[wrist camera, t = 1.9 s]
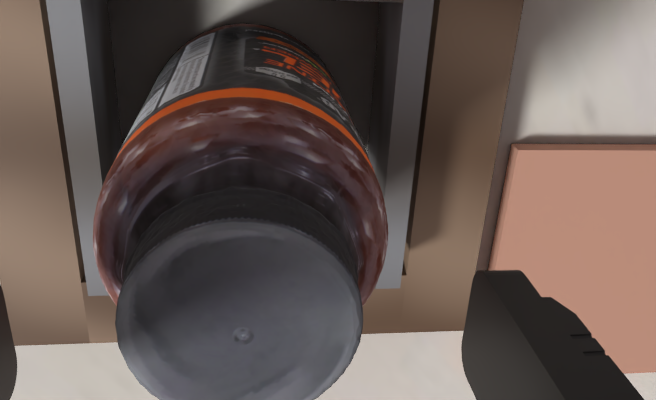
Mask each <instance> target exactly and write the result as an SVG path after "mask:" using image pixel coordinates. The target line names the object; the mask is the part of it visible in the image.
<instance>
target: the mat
mask: <svg viewBox="0 0 656 400" xmlns="http://www.w3.org/2000/svg"><path fill="white" fill-rule="evenodd" d="M490 270H520V271H522V272H523V273H524V274H525V275H526V277H527V278H528V279H529V281H530V282H531V283H532V285H533V286H534V288H535V289H536V290H537V292H538V293H539V294H540V296H541V297H552V298H553V299H555V300H556V301H558V302H559V303H560V304H562V305H563V306H565V307H566V308H568V309H569V310H571V311H572V312H574V313H575V314H576V315H577V316H578V317H579V319H580V320H581V321H582V322H583V324H584V325H585V326H586V327H587V329H588V330H589V331H590V332H591V334H592V338H595V339H596V340H597V341H598V343H599V344H600V345H601V346H602V348H603V349H604V350H605V355H609V356H610V358H611V359H612V360H613V361H614V363H615V364H616V365H617V366H618V368H619V369H620V370H621V371H622V373H646V372H656V144H511V149H510V154H509V160H508V165H507V170H506V176H505V181H504V186H503V192H502V197H501V202H500V207H499V213H498V218H497V223H496V229H495V234H494V239H493V245H492V250H491V255H490V261H489V266H488V271H490Z"/></svg>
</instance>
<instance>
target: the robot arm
mask: <svg viewBox="0 0 656 400" xmlns="http://www.w3.org/2000/svg"><path fill="white" fill-rule="evenodd" d="M462 362H463V367H464V372H465V375H466V377H467V380H468V382H469V384H470V386H471V388H472V391H473V393H474V395H475V397H476V399H477V400H644V399H643V398H642V396H641V395H640V394H639V393H638V391H637V390H636V389H635V388H634V386H633V385H632V384H631V383H630V381H629V380H628V379H627V378H626V376H625V375H624V374H623V373H622V371H621V370H620V369H619V368H618V366H617V365H616V364H615V363H614V361H613V360H612V359H611V358H610V356H609V355H605V350H604V349H603V348H602V346H601V345H600V344H599V343H598V341H597V340H596V339H595V338H592V334H591V332H590V331H589V330H588V329H587V327H586V326H585V325H584V324H583V322H582V321H581V320H580V319H579V317H578V316H577V315H576V314H575V313H574V312H572V311H571V310H569V309H568V308H566V307H565V306H563V305H562V304H560V303H559V302H558V301H556V300H555V299H553V298H552V297H541V296H540V294H539V293H538V292H537V290H536V289H535V288H534V286H533V285H532V283H531V282H530V281H529V279H528V278H527V277H526V275H525V274H524V273H523V272H522V271H520V270H490V271H478V272H476V274H475V275H474V278H473V281H472V286H471V292H470V297H469V303H468V309H467V315H466V321H465V327H464V333H463V339H462ZM16 375H17V358H16V352H15V347H14V342H13V337H12V332H11V327H10V322H9V318H8V313H7V308H6V303H5V298H4V293H3V290H2V287H1V285H0V400H10V398H11V396H12V393H13V390H14V386H15V382H16Z"/></svg>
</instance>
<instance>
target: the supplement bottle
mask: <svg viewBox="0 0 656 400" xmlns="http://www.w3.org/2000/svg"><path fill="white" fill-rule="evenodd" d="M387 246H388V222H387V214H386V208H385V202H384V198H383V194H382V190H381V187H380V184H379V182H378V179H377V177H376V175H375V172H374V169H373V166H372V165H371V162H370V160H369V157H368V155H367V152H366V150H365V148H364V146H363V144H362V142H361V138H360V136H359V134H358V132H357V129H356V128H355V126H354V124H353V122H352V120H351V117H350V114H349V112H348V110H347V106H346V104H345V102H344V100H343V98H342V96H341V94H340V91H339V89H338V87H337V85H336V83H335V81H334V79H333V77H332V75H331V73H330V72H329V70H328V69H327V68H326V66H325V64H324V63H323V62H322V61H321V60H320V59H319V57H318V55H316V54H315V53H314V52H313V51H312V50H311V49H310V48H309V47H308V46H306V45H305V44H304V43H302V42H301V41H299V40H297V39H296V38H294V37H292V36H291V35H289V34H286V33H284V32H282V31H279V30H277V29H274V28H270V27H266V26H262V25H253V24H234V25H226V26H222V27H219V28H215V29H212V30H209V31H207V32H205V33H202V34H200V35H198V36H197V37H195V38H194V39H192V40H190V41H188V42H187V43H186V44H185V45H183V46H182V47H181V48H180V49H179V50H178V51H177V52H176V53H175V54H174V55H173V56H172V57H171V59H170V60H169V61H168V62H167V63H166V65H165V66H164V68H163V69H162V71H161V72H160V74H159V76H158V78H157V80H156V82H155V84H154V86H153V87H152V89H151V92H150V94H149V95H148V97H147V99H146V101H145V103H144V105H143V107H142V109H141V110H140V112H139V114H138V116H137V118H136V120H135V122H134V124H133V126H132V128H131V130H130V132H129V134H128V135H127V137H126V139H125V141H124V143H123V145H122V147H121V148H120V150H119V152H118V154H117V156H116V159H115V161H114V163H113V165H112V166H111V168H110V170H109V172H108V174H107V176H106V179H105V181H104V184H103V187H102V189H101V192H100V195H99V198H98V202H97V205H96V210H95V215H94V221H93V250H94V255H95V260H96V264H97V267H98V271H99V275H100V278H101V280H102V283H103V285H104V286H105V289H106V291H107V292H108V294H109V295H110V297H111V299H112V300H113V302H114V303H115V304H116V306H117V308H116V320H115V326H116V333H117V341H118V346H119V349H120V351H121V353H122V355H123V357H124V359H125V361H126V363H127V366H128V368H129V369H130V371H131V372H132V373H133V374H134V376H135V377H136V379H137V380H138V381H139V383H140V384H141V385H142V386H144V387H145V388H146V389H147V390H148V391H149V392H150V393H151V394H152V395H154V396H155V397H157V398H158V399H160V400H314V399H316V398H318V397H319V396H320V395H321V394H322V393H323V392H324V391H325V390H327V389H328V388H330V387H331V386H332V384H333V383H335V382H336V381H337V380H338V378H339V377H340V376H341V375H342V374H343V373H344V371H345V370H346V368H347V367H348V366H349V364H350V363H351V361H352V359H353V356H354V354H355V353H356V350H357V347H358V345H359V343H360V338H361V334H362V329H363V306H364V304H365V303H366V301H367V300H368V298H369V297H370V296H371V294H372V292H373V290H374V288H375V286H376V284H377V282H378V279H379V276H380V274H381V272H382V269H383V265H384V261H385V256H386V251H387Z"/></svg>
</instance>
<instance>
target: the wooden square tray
mask: <svg viewBox="0 0 656 400" xmlns="http://www.w3.org/2000/svg"><path fill="white" fill-rule="evenodd" d="M338 1H368V2H380V9H379V21H378V34H377V46H376V58H375V70H374V82H373V95H372V107H371V119H370V131H369V143H368V157H369V160H370V162H371V165H372V166H373V169H374V172H375V175H376V177H377V179H378V182H379V184H380V187H381V190H382V194H383V198H384V202H385V208H386V214H387V222H388V246H387V251H386V256H385V261H384V265H383V269H382V272H381V274H380V276H379V279H378V282H377V284H376V286H375V288H374V290H373V292H372V294H371V296H370V297H369V298H368V300H367V301H366V303H365V304H364V306H363V329H362V334H375V333H405V332H434V331H464V327H465V321H466V315H467V309H468V303H469V297H470V292H471V286H472V281H473V278H474V275H475V271H476V266H477V260H478V254H479V249H480V243H481V238H482V232H483V226H484V221H485V215H486V210H487V204H488V198H489V193H490V187H491V182H492V176H493V170H494V165H495V159H496V154H497V148H498V142H499V137H500V131H501V126H502V120H503V114H504V109H505V103H506V98H507V92H508V86H509V81H510V75H511V70H512V64H513V58H514V53H515V47H516V42H517V36H518V30H519V25H520V19H521V14H522V8H523V2H524V0H338ZM121 147H122V143H121V133H120V123H119V114H118V104H117V94H116V84H115V75H114V65H113V55H112V45H111V35H110V26H109V16H108V6H107V0H0V282H1V287H2V290H3V293H4V298H5V303H6V308H7V313H8V318H9V322H10V327H11V332H12V337H13V342H14V346H18V345H48V344H78V343H108V342H118V341H117V333H116V326H115V320H116V308H117V306H116V304H115V303H114V302H113V300H112V299H111V297H110V295H109V294H108V292H107V291H106V289H105V286H104V285H103V283H102V280H101V278H100V275H99V271H98V267H97V264H96V260H95V255H94V250H93V221H94V215H95V210H96V205H97V202H98V198H99V195H100V192H101V189H102V187H103V184H104V181H105V179H106V176H107V174H108V172H109V170H110V168H111V166H112V165H113V163H114V161H115V159H116V156H117V154H118V152H119V150H120V148H121Z"/></svg>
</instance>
